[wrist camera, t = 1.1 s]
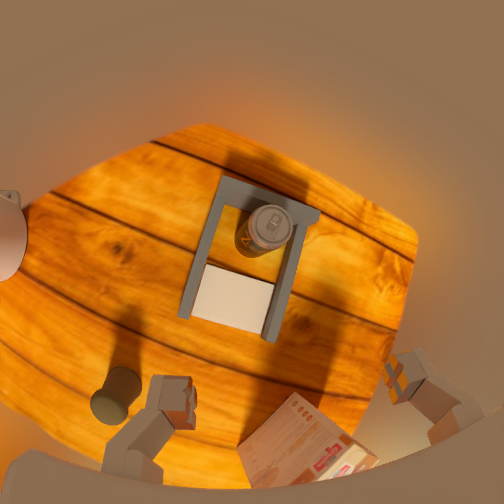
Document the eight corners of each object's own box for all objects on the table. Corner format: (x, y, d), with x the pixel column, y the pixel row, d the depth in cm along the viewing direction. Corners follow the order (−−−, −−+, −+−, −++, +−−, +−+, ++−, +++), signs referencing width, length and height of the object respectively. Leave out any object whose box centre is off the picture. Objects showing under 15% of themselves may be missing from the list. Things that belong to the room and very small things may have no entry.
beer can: (244, 218, 44) (264, 194, 32) (273, 236, 44) (302, 218, 33) (227, 246, 42) (241, 232, 31) (256, 264, 43) (281, 257, 31)
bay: (178, 314, 40) (175, 319, 33) (217, 191, 43) (222, 174, 36) (270, 339, 42) (284, 348, 35) (302, 221, 46) (320, 211, 39)
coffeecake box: (263, 463, 39) (300, 532, 20) (234, 447, 38) (262, 521, 19) (319, 409, 42) (383, 459, 23) (294, 389, 42) (354, 442, 23)
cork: (116, 359, 36) (94, 381, 26) (148, 381, 37) (136, 410, 26) (100, 386, 35) (77, 412, 24) (131, 407, 36) (117, 439, 25)
